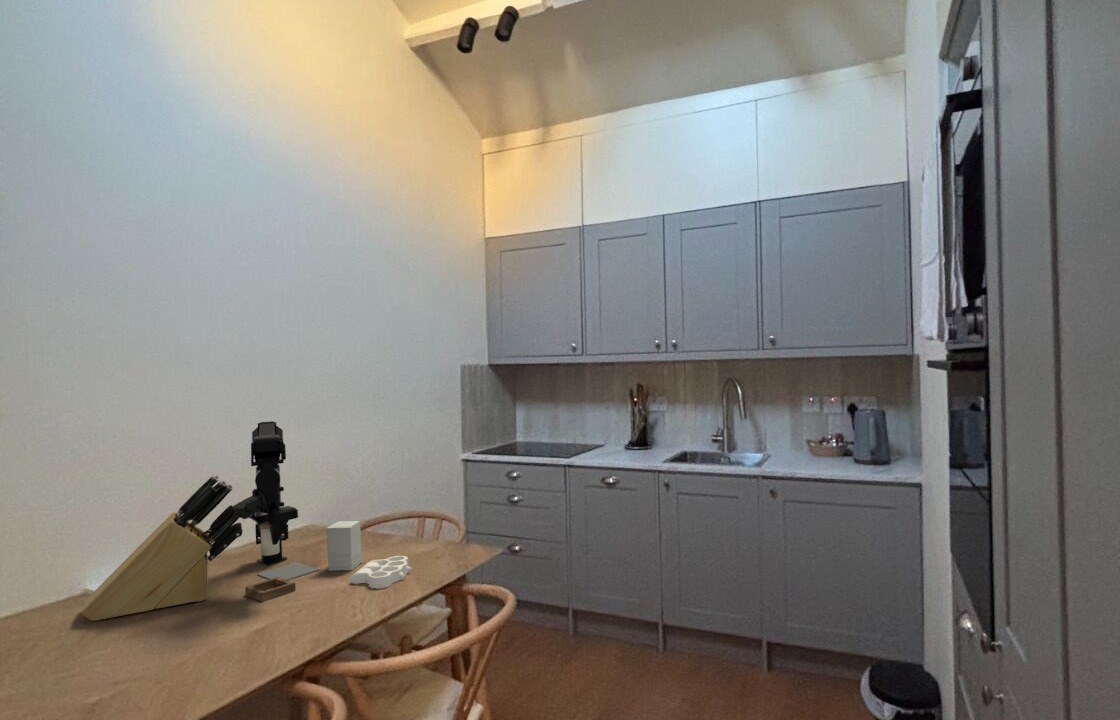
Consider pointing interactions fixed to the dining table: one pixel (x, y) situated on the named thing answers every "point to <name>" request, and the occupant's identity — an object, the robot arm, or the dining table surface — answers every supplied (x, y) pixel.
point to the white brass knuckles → (382, 572)
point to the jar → (267, 541)
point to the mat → (288, 571)
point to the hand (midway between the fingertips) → (270, 542)
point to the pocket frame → (279, 583)
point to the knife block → (169, 559)
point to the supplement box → (344, 545)
